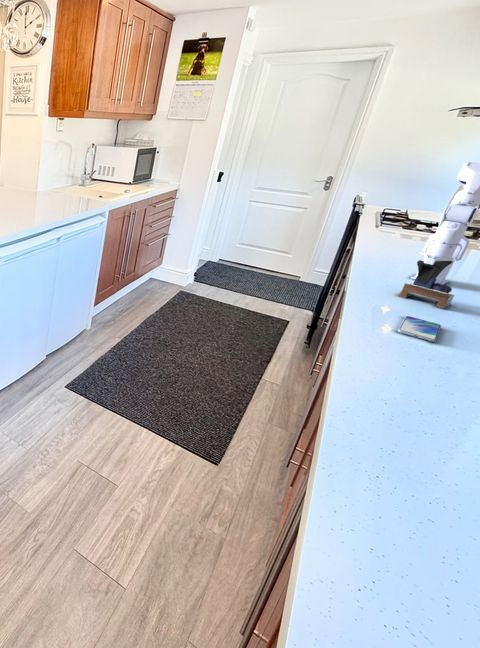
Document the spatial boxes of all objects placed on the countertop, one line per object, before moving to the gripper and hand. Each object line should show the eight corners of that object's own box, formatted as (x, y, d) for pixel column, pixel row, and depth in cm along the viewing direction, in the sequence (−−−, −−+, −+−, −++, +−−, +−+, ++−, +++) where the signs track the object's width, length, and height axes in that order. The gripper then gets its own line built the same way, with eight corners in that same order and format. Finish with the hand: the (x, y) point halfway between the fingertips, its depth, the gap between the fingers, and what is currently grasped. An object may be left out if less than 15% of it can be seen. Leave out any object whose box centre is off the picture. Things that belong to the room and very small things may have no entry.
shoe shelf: (406, 292, 139) (412, 280, 138) (449, 304, 131) (456, 291, 129) (398, 296, 136) (404, 283, 134) (442, 308, 128) (450, 295, 126)
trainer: (410, 287, 135) (415, 276, 133) (413, 285, 137) (419, 274, 135) (446, 296, 128) (452, 285, 127) (450, 294, 130) (456, 283, 128)
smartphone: (398, 329, 112) (406, 315, 120) (396, 332, 112) (405, 317, 121) (436, 340, 106) (441, 324, 115) (434, 343, 107) (440, 327, 115)
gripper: (434, 236, 135) (415, 273, 140) (419, 241, 128) (400, 280, 133) (465, 242, 129) (445, 281, 134) (451, 248, 122) (431, 288, 127)
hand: (425, 281), depth 133 cm, fingers open, 7 cm apart
